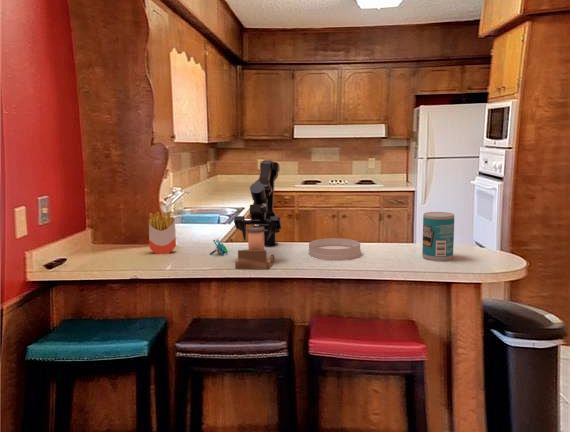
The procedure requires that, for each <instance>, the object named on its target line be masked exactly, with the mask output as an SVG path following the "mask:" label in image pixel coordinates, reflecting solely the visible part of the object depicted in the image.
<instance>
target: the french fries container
mask: <svg viewBox="0 0 570 432" xmlns="http://www.w3.org/2000/svg"><path fill="white" fill-rule="evenodd" d="M175 220H176V218H174V216H171V211H166V212H165V211H163V213H162V214H161V215H160V212H159V211H157V212H156V214H153V213H152V212H151V213H149V219H148V237H149V238H148V241H149V245H148V246H149V249H150V250H151V251H152V252H153V253H154V254H156V255H163V254H166V255H167V254H170V253H171V252H172V251H173V250H174V249H175V248H176V247H177V235H176V221H175Z"/></svg>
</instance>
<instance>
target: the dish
mask: <svg viewBox="0 0 570 432" xmlns="http://www.w3.org/2000/svg"><path fill="white" fill-rule="evenodd" d="M361 251H362V250H361V242H360V241H358V240H355V239H349V238H341V237H340V238H338V237H337V238H336V237H333V238H332V237H329V238H319V239H315V240H312V241H309V243H308V255H310V256H311V258H312V257H314V258H313V259H315V258H317V259H316V260H320V259H322V261H333V260H334V261H348V260H354V259H357V258H359V257H361V254H362V252H361ZM310 256H309V257H310Z"/></svg>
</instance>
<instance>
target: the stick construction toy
mask: <svg viewBox="0 0 570 432" xmlns="http://www.w3.org/2000/svg"><path fill="white" fill-rule="evenodd" d="M213 243H214V244H215V246H216V247H215V249H214V250H213V251H211V252H210V253H209V255H210V256H211V255H214V254H215V253H216V252H217V253H219V252H220V253H221V256H225V255H228V254H229V253H228V249H227V247H226V245H224V243H221V241H220V239H219V238H217V239H213Z"/></svg>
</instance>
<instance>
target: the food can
mask: <svg viewBox="0 0 570 432" xmlns="http://www.w3.org/2000/svg"><path fill="white" fill-rule="evenodd" d="M422 216H423V218H422V252H421V254H422V255H421V256H422V258H423V259H424V260H427V261H431V262H432V261H433V262H447V261H451V260H453V258H454V241H455V240H454V239H455V238H454V237H455V214H454V213H451V212H446V211H445V212H444V211H429V212H427V211H426V212H424V213H423V215H422Z"/></svg>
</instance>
